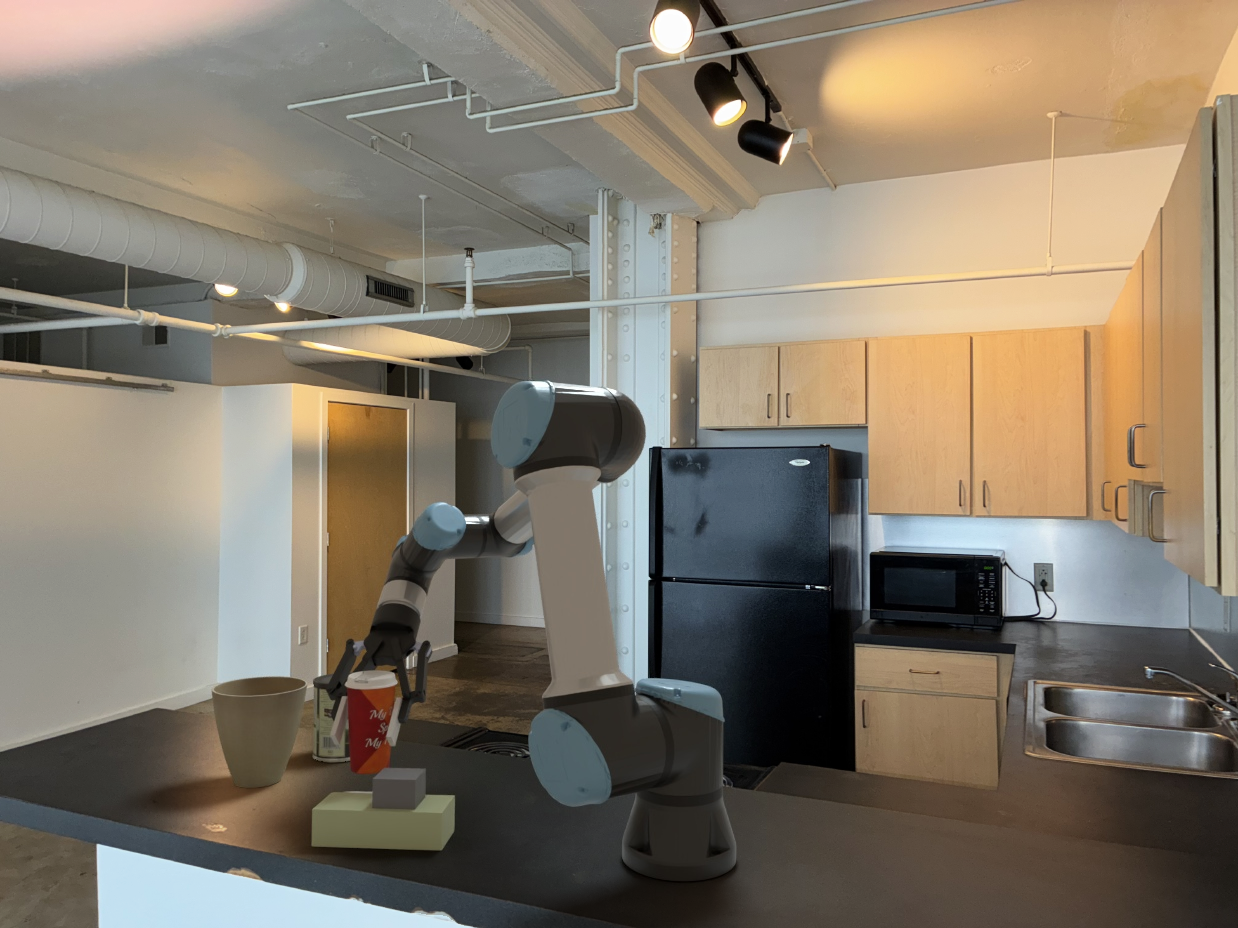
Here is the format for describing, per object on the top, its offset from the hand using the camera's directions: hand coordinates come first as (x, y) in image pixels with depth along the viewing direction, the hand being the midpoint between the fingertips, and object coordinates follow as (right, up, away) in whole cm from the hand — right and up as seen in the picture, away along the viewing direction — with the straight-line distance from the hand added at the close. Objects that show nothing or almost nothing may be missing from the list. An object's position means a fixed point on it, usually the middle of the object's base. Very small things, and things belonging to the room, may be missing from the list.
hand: (362, 740), depth 130 cm
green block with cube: (+4, -12, -1) cm, 13 cm away
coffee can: (-14, -13, +34) cm, 39 cm away
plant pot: (-23, -13, +18) cm, 32 cm away
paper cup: (0, -5, +3) cm, 6 cm away
